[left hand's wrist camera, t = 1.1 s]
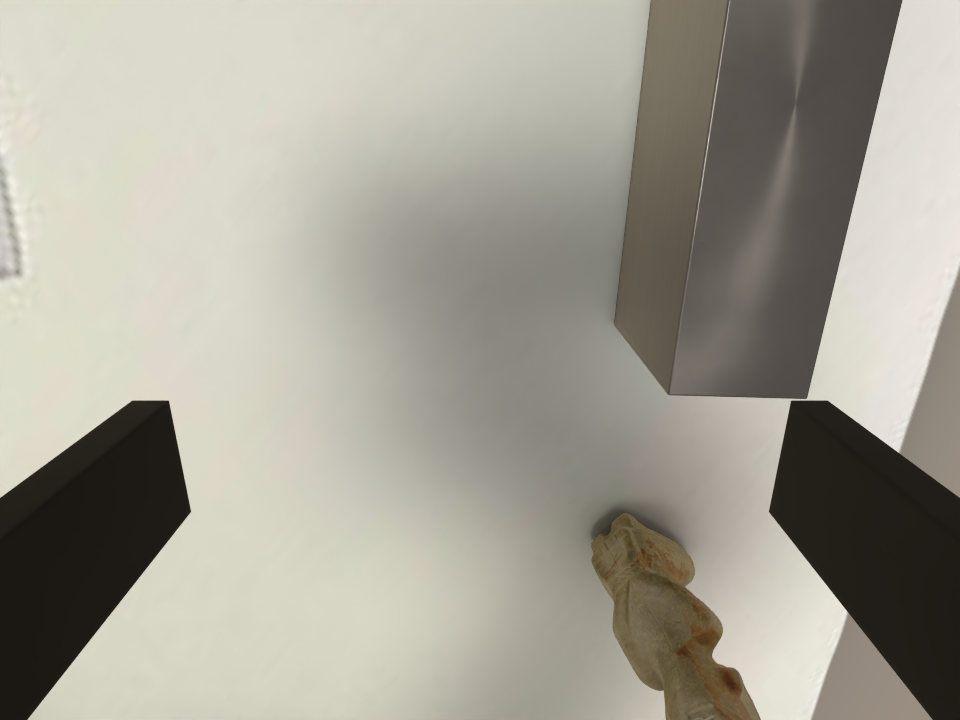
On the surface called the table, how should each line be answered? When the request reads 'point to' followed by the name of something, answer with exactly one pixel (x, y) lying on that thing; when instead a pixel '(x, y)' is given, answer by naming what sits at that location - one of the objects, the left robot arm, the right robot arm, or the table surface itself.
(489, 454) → the table surface
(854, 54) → the box
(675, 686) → the sculpture
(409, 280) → the table surface
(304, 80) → the table surface
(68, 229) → the table surface
